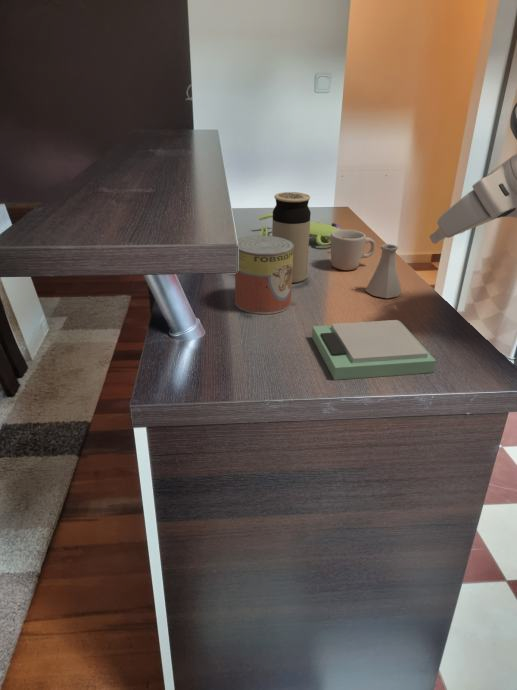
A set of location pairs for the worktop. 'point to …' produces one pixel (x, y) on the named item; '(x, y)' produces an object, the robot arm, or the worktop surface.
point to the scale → (371, 350)
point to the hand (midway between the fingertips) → (445, 234)
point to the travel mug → (294, 228)
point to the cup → (349, 248)
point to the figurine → (311, 230)
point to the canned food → (264, 274)
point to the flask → (385, 275)
